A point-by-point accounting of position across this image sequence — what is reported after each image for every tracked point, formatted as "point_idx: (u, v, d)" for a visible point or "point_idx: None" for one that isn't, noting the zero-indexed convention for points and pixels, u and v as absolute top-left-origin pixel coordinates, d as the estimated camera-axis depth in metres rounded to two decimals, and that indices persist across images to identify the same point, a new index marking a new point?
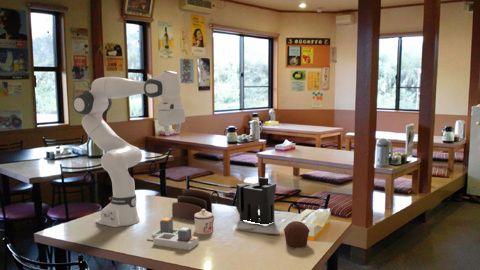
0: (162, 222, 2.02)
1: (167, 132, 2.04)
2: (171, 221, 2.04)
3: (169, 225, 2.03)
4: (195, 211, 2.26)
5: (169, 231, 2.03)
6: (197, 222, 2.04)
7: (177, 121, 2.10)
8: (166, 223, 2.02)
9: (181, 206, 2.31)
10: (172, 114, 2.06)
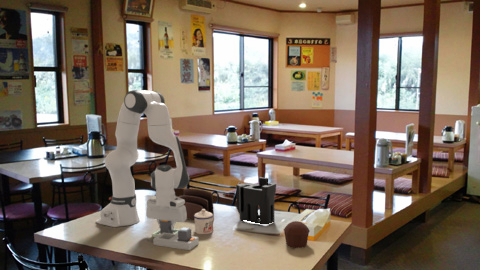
0: (162, 222, 2.02)
1: (173, 227, 2.03)
2: None
3: (169, 225, 2.03)
4: (197, 210, 2.27)
5: (169, 231, 2.03)
6: (197, 222, 2.04)
7: None
8: (166, 223, 2.02)
9: None
10: None
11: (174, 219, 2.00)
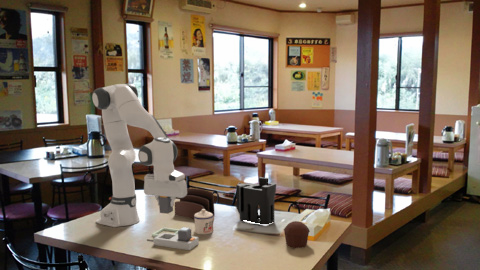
0: (161, 198, 1.89)
1: (173, 203, 1.90)
2: None
3: (169, 201, 1.89)
4: (198, 210, 2.28)
5: (169, 208, 1.89)
6: (197, 222, 2.04)
7: None
8: (165, 199, 1.88)
9: (184, 205, 2.33)
10: None
11: (174, 194, 1.86)
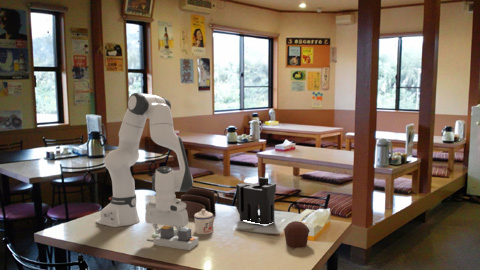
0: (162, 229, 1.91)
1: (177, 233, 1.91)
2: (172, 228, 1.93)
3: (170, 233, 1.91)
4: (199, 209, 2.29)
5: None
6: (197, 222, 2.04)
7: None
8: (167, 230, 1.90)
9: None
10: None
11: (175, 224, 1.88)
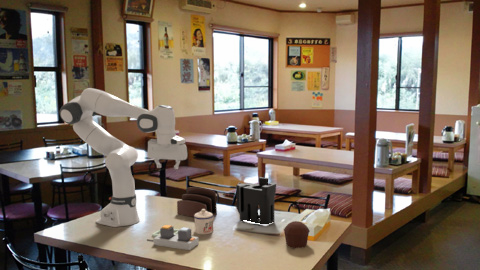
0: (162, 229, 1.91)
1: (177, 166, 2.05)
2: (172, 228, 1.93)
3: (170, 233, 1.91)
4: (200, 209, 2.30)
5: None
6: (197, 222, 2.04)
7: None
8: (167, 230, 1.90)
9: (186, 204, 2.35)
10: None
11: (175, 157, 2.03)
